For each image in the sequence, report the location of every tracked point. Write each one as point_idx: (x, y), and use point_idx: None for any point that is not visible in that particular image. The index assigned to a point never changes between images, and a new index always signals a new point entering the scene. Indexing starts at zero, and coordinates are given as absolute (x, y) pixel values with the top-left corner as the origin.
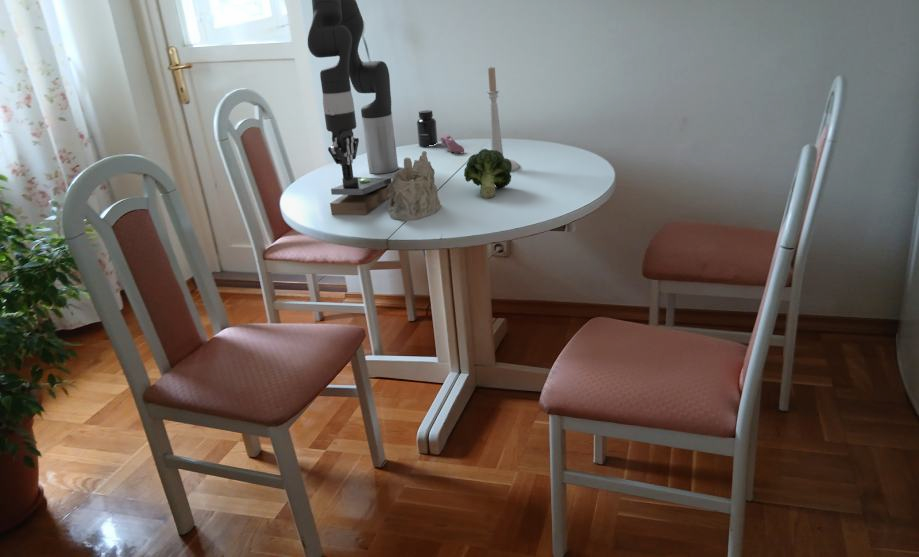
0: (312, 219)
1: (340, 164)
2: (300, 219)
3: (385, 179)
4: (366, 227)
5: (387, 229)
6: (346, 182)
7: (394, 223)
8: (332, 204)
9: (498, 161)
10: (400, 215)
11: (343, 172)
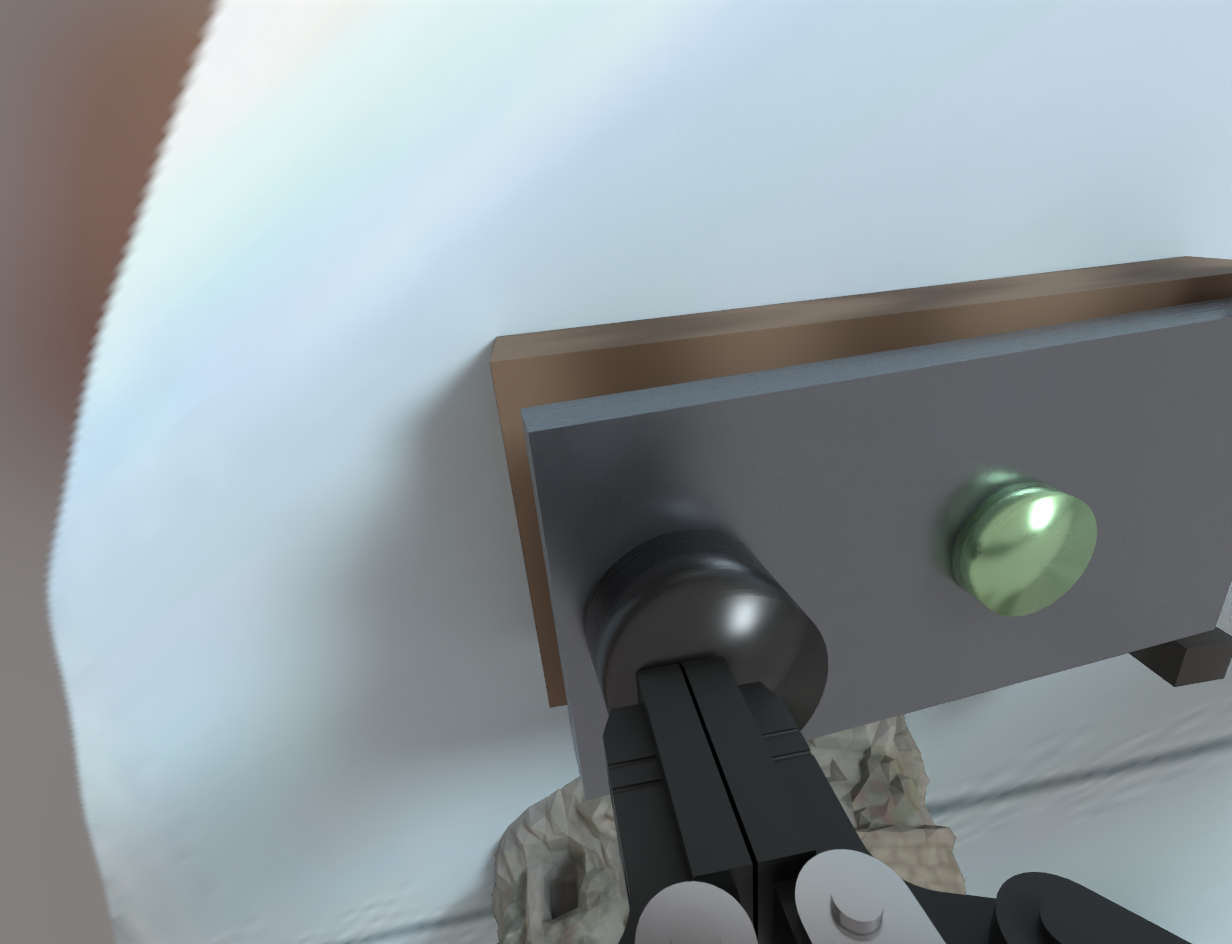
0: (292, 220)
1: (643, 921)
2: (236, 53)
3: (1129, 642)
4: (289, 788)
5: (307, 907)
6: (601, 684)
7: (426, 883)
8: (497, 387)
9: None
10: (507, 903)
11: (614, 794)
